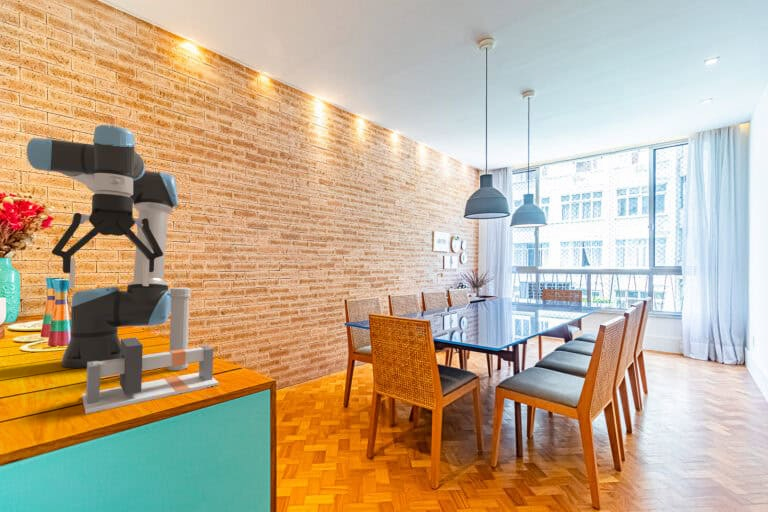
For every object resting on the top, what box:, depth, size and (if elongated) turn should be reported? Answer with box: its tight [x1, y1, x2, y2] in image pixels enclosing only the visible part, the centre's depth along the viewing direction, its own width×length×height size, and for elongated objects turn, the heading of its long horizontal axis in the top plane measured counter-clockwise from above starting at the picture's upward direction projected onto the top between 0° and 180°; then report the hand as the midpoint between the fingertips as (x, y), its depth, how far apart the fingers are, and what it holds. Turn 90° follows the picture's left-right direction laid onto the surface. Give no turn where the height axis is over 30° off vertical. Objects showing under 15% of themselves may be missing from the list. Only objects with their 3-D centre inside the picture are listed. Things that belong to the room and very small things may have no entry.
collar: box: [119, 337, 144, 395], centre depth 86 cm, size 10×3×11 cm, turn 43°
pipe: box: [167, 268, 191, 372], centre depth 108 cm, size 6×6×30 cm
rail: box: [81, 345, 220, 415], centre depth 89 cm, size 12×27×9 cm, turn 133°
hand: (110, 287), depth 82 cm, fingers open, 13 cm apart
